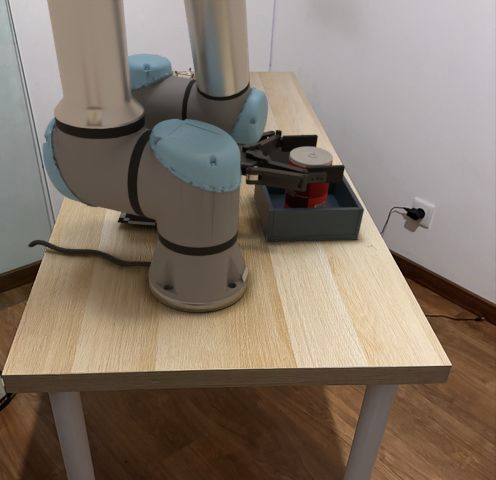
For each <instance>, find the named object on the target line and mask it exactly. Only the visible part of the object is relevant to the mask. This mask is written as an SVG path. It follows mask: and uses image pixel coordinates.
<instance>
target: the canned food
mask: <svg viewBox="0 0 496 480" xmlns="http://www.w3.org/2000/svg"><path fill="white" fill-rule="evenodd" d="M333 159H334V156H333V154H332V153H331V152H329V151H328V150H326V149H324V148H321V147H318V146H316V147H299V148H295V149H293V150H292V151H291V152H290V155H289V162H288V165H291V166H294V167H298V168H302V169H306V166H327V165H333V161H334V160H333ZM299 180H300V179H299ZM328 187H329V183H318V184H307V185H306V191H296V190H290V189H286V191H285V201H284V208H325V205H326V199H327V193H328Z"/></svg>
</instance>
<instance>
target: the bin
mask: <svg viewBox="0 0 496 480" xmlns="http://www.w3.org/2000/svg"><path fill="white" fill-rule="evenodd" d="M253 190H254V191H253V192H254V193H253V199H254V202H255V206H256V209H257V212H258V216H259V219H260V223H261V227H262V229H263V234H264V236H265V240H266V242H268V243H269V242H306V241H307V242H309V241H310V242H311V241H350V240H351V241H353V240H355V241H356V240H359V235H360V230H361V226H362V222H363V217H364V213H365V208H364V206H363V204H362V203H361V201H360V200H359V198H358V196H357V195H356V193H355V191H354V190H353V188H352V186H351V184H350V183H349V180H348V179H347V178H346V176H345V174H343V180H342V182H339V183H329V187H328V193H327V199H326V205H325V208H284V201H285V191H286V189H283V188H277V187H271V186H264V185H254V189H253Z"/></svg>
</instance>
